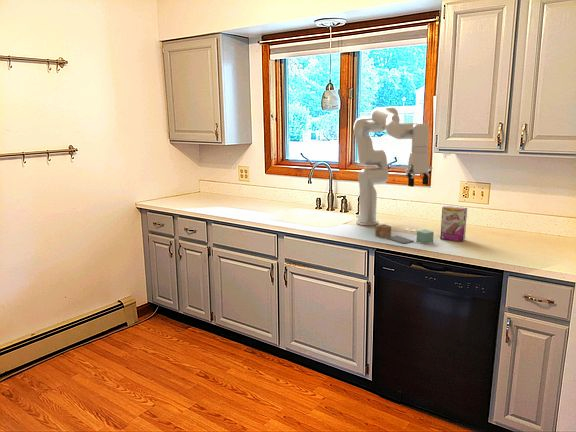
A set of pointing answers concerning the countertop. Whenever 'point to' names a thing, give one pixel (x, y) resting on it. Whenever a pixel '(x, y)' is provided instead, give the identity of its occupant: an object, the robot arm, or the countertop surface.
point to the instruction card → (410, 229)
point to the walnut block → (383, 231)
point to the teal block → (425, 236)
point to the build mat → (400, 239)
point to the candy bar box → (453, 223)
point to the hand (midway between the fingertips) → (418, 185)
